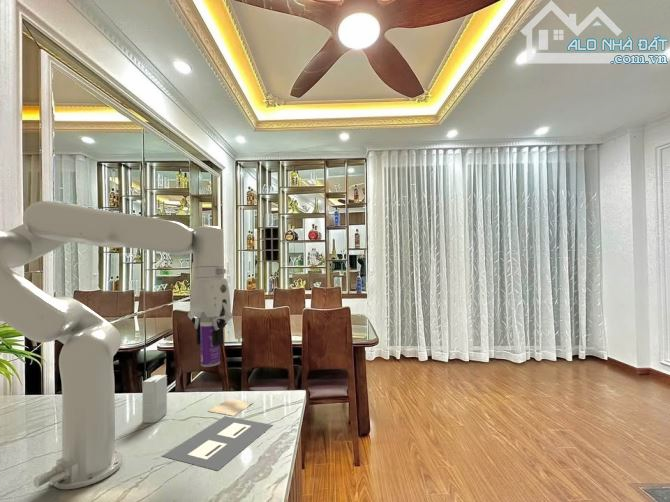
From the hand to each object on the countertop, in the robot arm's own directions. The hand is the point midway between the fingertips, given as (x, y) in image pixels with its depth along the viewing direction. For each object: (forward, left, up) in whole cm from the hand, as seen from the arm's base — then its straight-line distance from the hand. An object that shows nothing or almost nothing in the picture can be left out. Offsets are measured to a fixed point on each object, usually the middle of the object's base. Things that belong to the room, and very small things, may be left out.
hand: (210, 343), depth 86 cm
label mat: (+2, -1, -25) cm, 26 cm away
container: (0, 0, -5) cm, 5 cm away
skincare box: (+5, +27, -26) cm, 37 cm away
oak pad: (+19, +10, -25) cm, 33 cm away
